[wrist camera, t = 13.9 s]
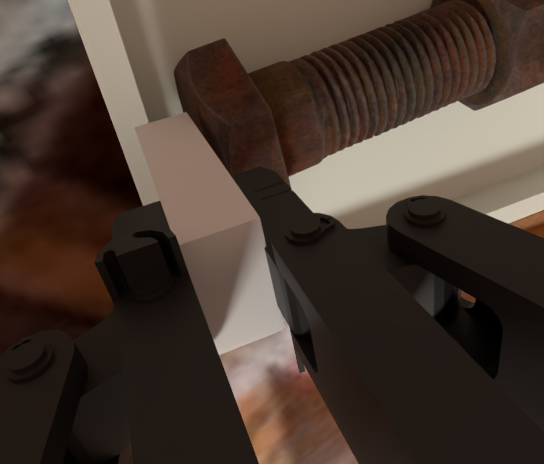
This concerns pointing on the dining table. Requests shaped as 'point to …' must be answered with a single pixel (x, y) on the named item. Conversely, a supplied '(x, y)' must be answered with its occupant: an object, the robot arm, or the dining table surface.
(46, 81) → the dining table surface
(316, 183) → the tray
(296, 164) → the bolt
